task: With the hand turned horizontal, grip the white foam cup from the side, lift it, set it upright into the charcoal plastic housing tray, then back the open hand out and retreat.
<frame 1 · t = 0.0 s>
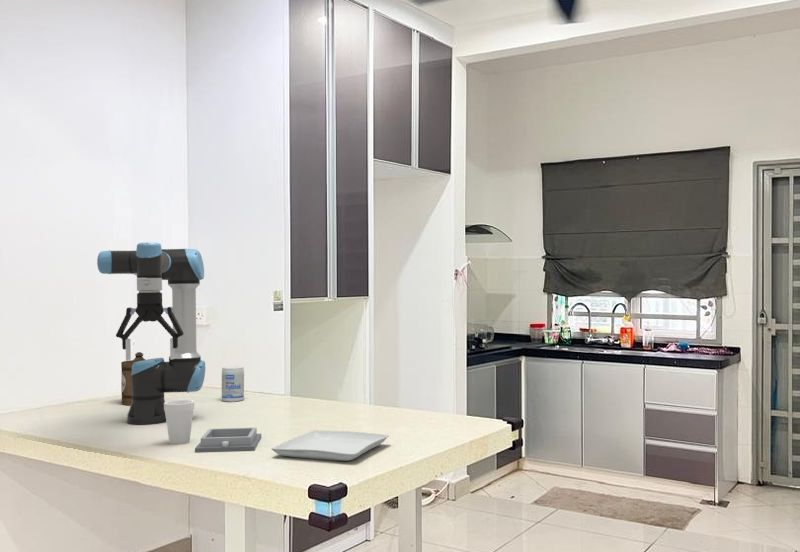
hand: (150, 359, 238), 28 cm above the table, tool pointing down, fingers open, 13 cm apart
square plate: (332, 453, 231), on the table
housing: (229, 444, 243), on the table
supplement tub: (233, 400, 332), on the table
wooden container: (139, 403, 329), on the table
foam cup: (179, 442, 247), on the table
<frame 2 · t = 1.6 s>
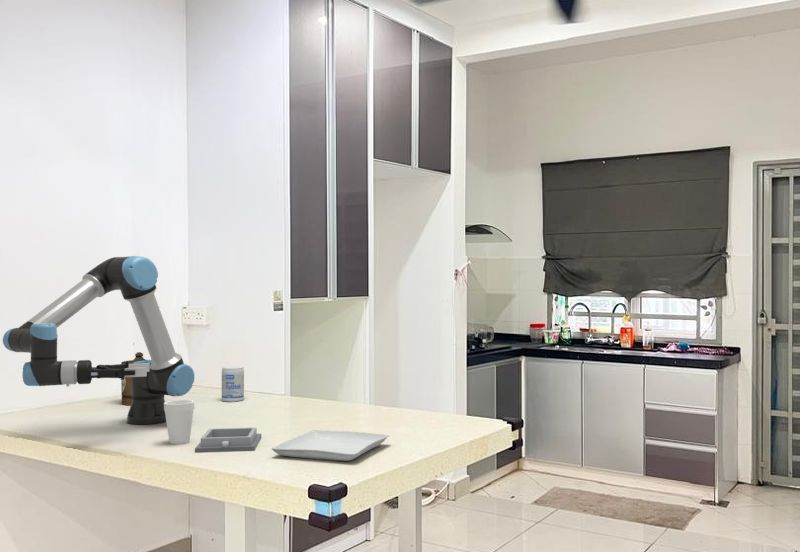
hand: (148, 369, 245), 24 cm above the table, tool horizontal, fingers open, 13 cm apart
nothing on the table moved.
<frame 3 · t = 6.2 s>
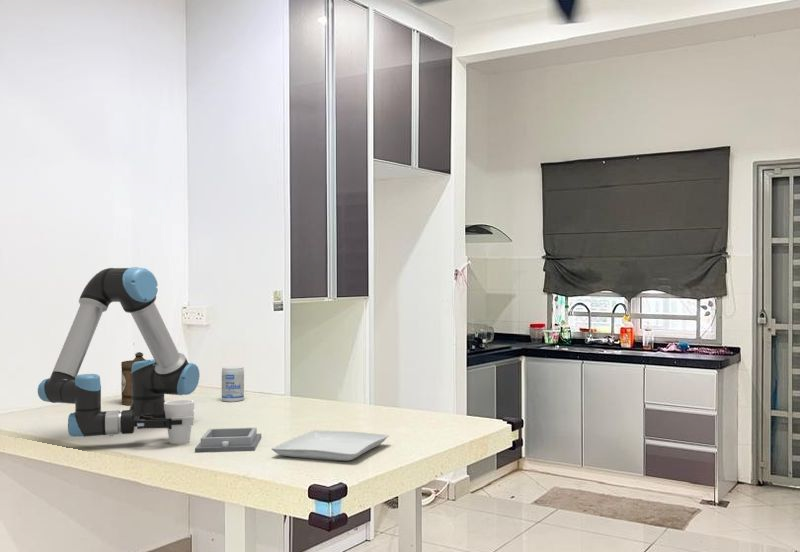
hand: (193, 418, 248), 8 cm above the table, tool horizontal, fingers closed on foam cup, 9 cm apart
foam cup: (179, 442, 247), on the table, touching gripper
everything else where it was.
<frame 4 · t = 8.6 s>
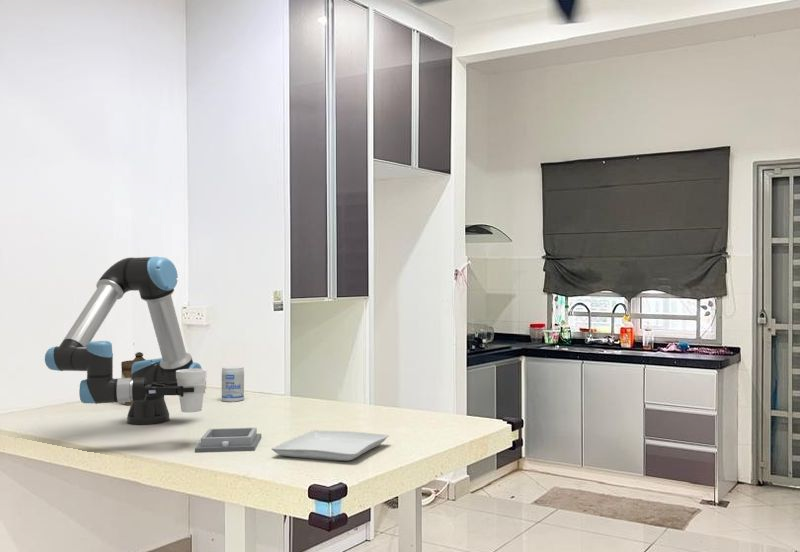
hand: (205, 386, 245), 18 cm above the table, tool horizontal, fingers closed on foam cup, 9 cm apart
foam cup: (191, 411, 244), point 10 cm above the table, touching gripper
everything else where it was.
when the fingers open (10 cm above the table, at t = 11.3 s): foam cup drops 1 cm, resting on housing.
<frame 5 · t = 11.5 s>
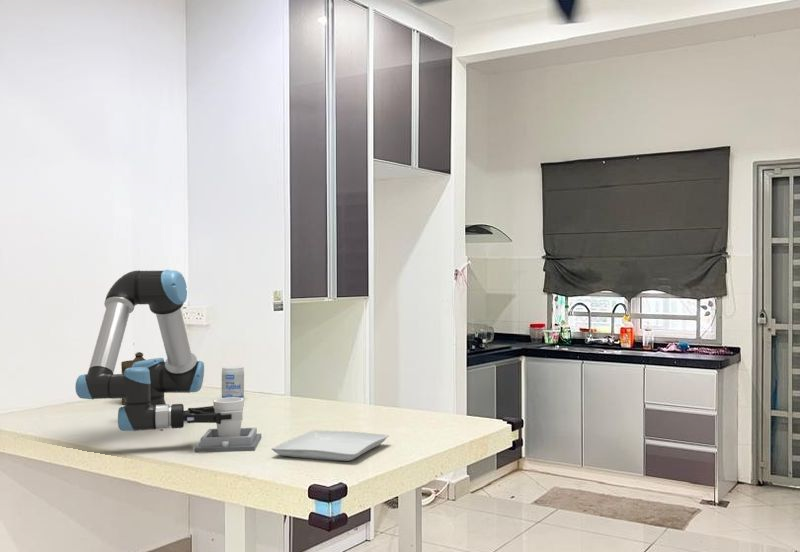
hand: (241, 412, 244), 10 cm above the table, tool horizontal, fingers open, 11 cm apart
foam cup: (229, 441, 243), point 1 cm above the table, touching housing
everything else where it was.
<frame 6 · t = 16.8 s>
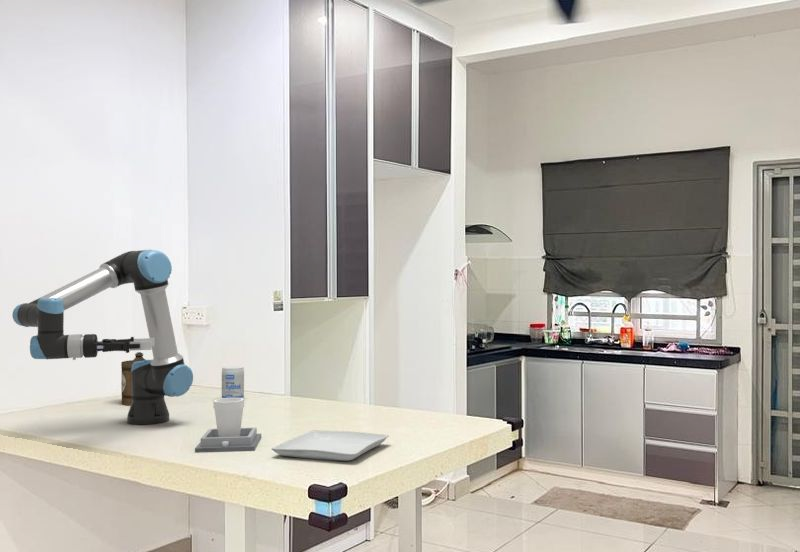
hand: (152, 343, 249), 32 cm above the table, tool horizontal, fingers open, 13 cm apart
nothing on the table moved.
at the end: foam cup 0.1 cm off-centre on the housing, point 1.0 cm above the housing's base; foam cup tilted 0°; the gripper is holding nothing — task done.
